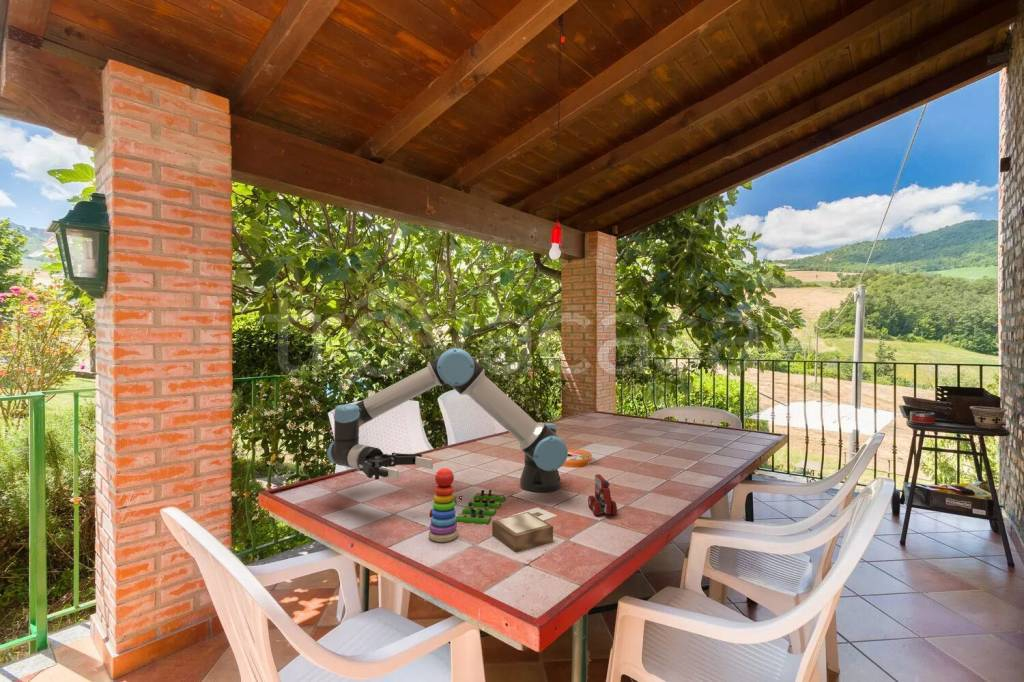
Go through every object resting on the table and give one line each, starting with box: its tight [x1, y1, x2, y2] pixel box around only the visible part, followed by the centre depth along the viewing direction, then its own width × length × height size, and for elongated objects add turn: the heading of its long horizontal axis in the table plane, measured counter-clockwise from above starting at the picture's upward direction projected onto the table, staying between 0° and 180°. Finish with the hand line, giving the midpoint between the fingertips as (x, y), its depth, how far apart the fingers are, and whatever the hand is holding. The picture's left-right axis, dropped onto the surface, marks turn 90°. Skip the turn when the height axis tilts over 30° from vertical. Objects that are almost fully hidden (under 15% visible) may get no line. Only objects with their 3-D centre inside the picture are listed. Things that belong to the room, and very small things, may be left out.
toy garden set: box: [428, 489, 506, 526], centre depth 149 cm, size 23×19×5 cm
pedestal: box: [491, 512, 554, 553], centre depth 126 cm, size 12×12×4 cm
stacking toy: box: [428, 467, 459, 543], centre depth 127 cm, size 8×8×19 cm
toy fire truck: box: [587, 473, 618, 516], centre depth 146 cm, size 7×12×10 cm, turn 5°
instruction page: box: [507, 507, 558, 522], centre depth 142 cm, size 12×9×1 cm
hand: (415, 469), depth 132 cm, fingers open, 13 cm apart
